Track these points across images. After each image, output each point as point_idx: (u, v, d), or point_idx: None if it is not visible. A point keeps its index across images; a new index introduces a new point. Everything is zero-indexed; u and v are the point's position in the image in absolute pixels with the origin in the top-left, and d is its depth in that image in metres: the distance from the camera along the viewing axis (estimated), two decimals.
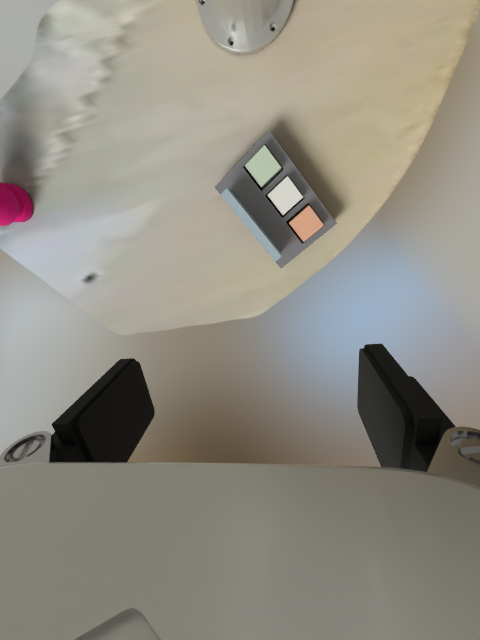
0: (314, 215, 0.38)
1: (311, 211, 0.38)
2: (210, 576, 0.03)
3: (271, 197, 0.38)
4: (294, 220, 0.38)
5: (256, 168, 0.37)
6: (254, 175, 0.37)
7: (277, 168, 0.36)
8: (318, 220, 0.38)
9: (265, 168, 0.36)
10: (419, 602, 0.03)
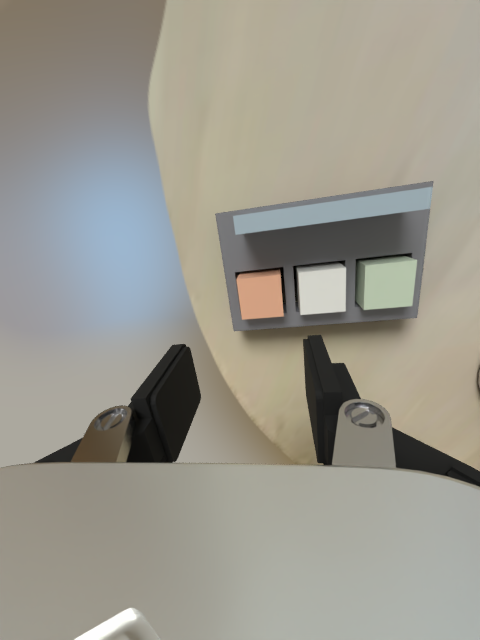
0: (264, 315, 0.22)
1: (273, 314, 0.22)
2: (210, 576, 0.03)
3: (337, 271, 0.20)
4: (278, 284, 0.21)
5: (396, 274, 0.20)
6: (390, 266, 0.20)
7: (367, 304, 0.21)
8: (253, 316, 0.23)
9: (383, 287, 0.20)
10: (419, 602, 0.03)
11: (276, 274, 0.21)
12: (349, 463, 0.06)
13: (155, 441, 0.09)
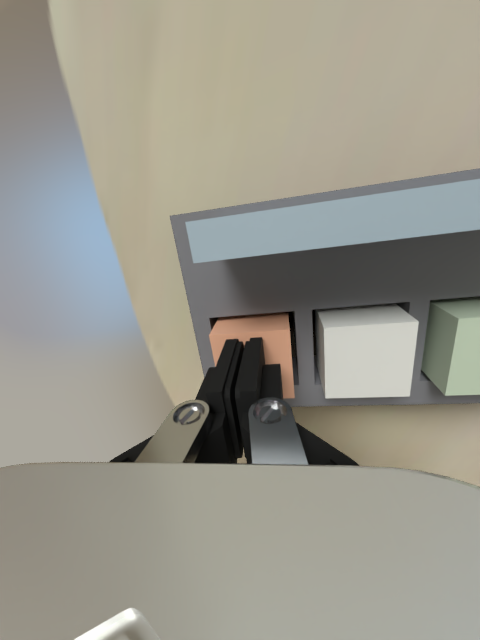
0: None
1: None
2: (210, 576, 0.03)
3: (400, 328, 0.10)
4: (285, 346, 0.12)
5: None
6: None
7: (453, 386, 0.11)
8: None
9: None
10: (419, 602, 0.03)
11: (282, 327, 0.12)
12: (267, 462, 0.06)
13: (228, 436, 0.08)
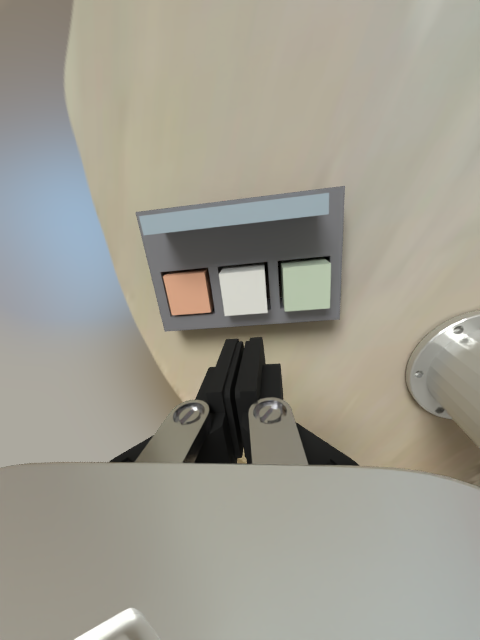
0: (192, 311, 0.23)
1: (200, 310, 0.23)
2: (210, 576, 0.03)
3: (256, 273, 0.20)
4: (202, 282, 0.22)
5: (312, 277, 0.20)
6: (305, 268, 0.20)
7: (287, 306, 0.21)
8: (182, 312, 0.23)
9: (301, 290, 0.21)
10: (419, 602, 0.03)
11: (201, 272, 0.22)
12: (267, 462, 0.06)
13: (228, 436, 0.08)
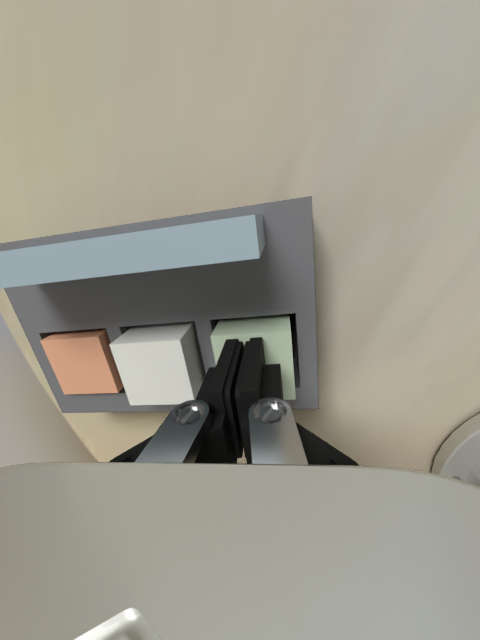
0: (92, 390, 0.15)
1: (103, 389, 0.15)
2: (210, 576, 0.03)
3: (168, 345, 0.12)
4: (98, 350, 0.14)
5: None
6: (249, 338, 0.12)
7: None
8: (78, 391, 0.15)
9: None
10: (419, 602, 0.03)
11: (95, 335, 0.14)
12: (267, 462, 0.06)
13: (228, 436, 0.08)
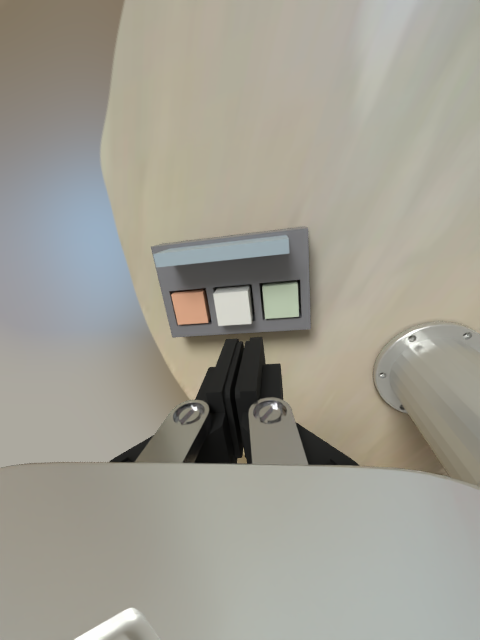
0: (194, 321, 0.30)
1: (200, 321, 0.29)
2: (210, 576, 0.03)
3: (241, 293, 0.26)
4: (201, 299, 0.28)
5: (284, 293, 0.27)
6: (279, 287, 0.27)
7: (267, 314, 0.28)
8: (186, 322, 0.30)
9: (276, 302, 0.28)
10: (419, 602, 0.03)
11: (200, 291, 0.28)
12: (267, 462, 0.06)
13: (228, 436, 0.08)
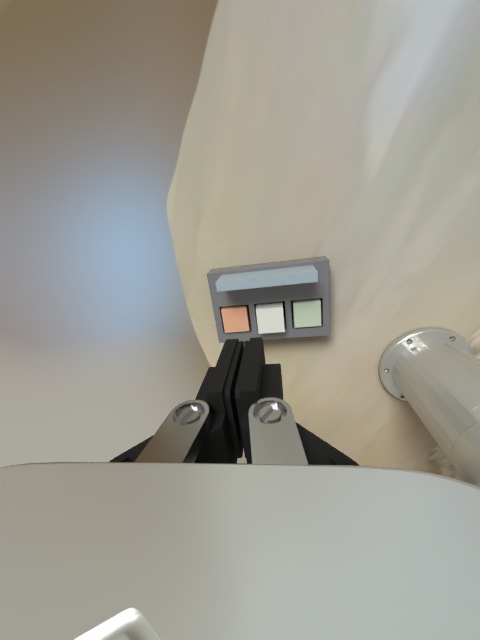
0: (238, 330, 0.38)
1: (243, 330, 0.38)
2: (210, 576, 0.03)
3: (278, 309, 0.35)
4: (245, 313, 0.37)
5: (310, 308, 0.35)
6: (306, 303, 0.35)
7: (296, 324, 0.36)
8: (231, 331, 0.38)
9: (304, 315, 0.36)
10: (419, 602, 0.03)
11: (244, 307, 0.37)
12: (267, 462, 0.06)
13: (228, 436, 0.08)
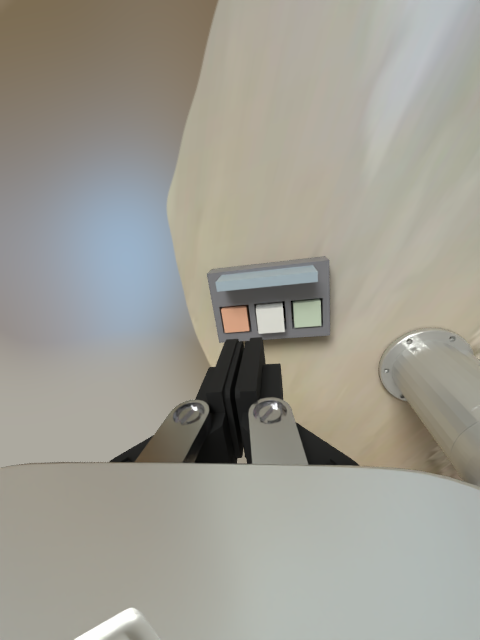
0: (238, 330, 0.38)
1: (243, 330, 0.38)
2: (210, 576, 0.03)
3: (278, 309, 0.35)
4: (245, 313, 0.37)
5: (310, 308, 0.35)
6: (306, 303, 0.35)
7: (296, 324, 0.36)
8: (231, 331, 0.38)
9: (304, 315, 0.36)
10: (419, 602, 0.03)
11: (244, 307, 0.37)
12: (267, 462, 0.06)
13: (228, 436, 0.08)
